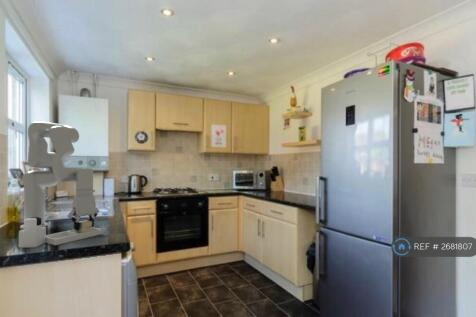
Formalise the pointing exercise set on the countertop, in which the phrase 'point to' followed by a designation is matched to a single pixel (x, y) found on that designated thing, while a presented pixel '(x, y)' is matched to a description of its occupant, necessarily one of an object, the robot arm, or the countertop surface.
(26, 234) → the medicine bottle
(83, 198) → the robot arm
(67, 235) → the organiser tray
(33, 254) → the countertop surface
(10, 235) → the countertop surface
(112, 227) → the countertop surface
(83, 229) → the wooden block
